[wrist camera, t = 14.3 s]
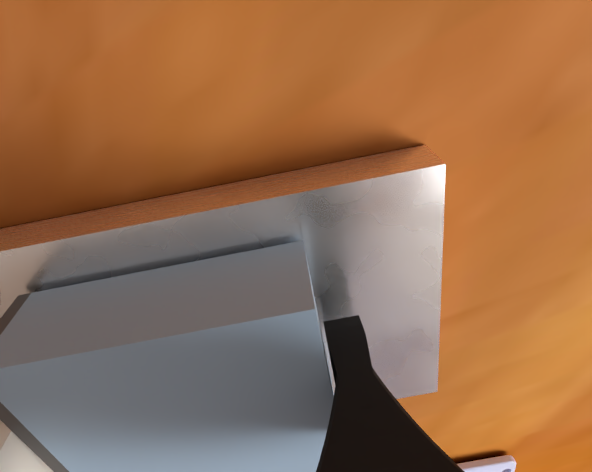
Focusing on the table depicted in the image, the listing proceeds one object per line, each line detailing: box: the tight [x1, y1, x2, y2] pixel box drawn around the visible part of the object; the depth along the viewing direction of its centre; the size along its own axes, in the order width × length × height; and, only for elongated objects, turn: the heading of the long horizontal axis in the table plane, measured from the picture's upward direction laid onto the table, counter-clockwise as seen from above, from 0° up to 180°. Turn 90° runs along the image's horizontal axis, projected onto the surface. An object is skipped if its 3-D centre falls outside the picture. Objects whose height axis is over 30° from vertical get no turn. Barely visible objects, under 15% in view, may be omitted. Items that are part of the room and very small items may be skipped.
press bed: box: [0, 145, 446, 399], centre depth 12 cm, size 10×21×6 cm, turn 100°
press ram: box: [0, 240, 334, 472], centre depth 12 cm, size 7×8×3 cm
